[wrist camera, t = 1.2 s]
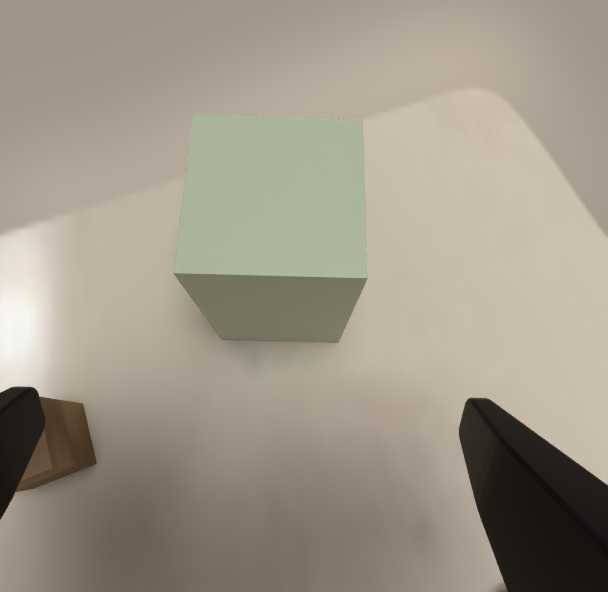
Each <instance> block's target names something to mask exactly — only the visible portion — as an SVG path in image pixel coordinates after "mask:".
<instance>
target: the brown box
mask: <svg viewBox="0 0 608 592" xmlns="http://www.w3.org/2000/svg"><path fill="white" fill-rule="evenodd" d="M40 400H41V404H42V407H43V410H44V413H45V417H46V424H45V428H44V431H43V433H42V435H41V437H40V440H39V442H38V444H37V446H36V448H35V451H34V453H33V455H32V457H31V459H30V462H29V464H28V466H27V468H26V470H25V473H24V475H23V477H22V479H21V481H20V484H19V486H18V488H17V490H16V492H18V491H23V490H29V489H34V488H36V487H39V486H41V485H44V484H46V483H49V482H51V481H54V480H56V479H59V478H61V477H63V476H66V475H68V474H71V473H73V472H76V471H78V470H81V469H83V468H86V467H88V466H91V465H93V464H96V459H95V455H94V451H93V446H92V442H91V438H90V434H89V429H88V425H87V421H86V417H85V412H84V408H83V404H80V403H74V402H68V401H62V400H56V399H50V398H44V397H40Z"/></svg>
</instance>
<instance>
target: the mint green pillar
mask: <svg viewBox="0 0 608 592" xmlns="http://www.w3.org/2000/svg"><path fill="white" fill-rule="evenodd" d="M173 273H174V275H175V276H176V277H177V279H178V280H179V282H180V283H181V284H182V286H183V287H184V288H185V290H186V291H187V293H188V294H189V295H190V297H191V298H192V299H193V301H194V302H195V304H196V305H197V306H198V308H199V309H200V310H201V312H202V313H203V315H204V316H205V317H206V319H207V320H208V321H209V323H210V324H211V326H212V327H213V328H214V330H215V331H216V332H217V334H218V335H219V337H220V338H221V339H226V340H267V341H307V342H339V340H340V338H341V335H342V333H343V331H344V329H345V327H346V324H347V322H348V320H349V318H350V316H351V313H352V311H353V309H354V307H355V305H356V302H357V300H358V298H359V296H360V294H361V291H362V289H363V287H364V285H365V283H366V280H367V243H366V207H365V171H364V135H363V120H352V119H320V118H288V117H257V116H256V117H255V116H226V115H225V116H224V115H195V114H193V120H192V128H191V136H190V144H189V152H188V160H187V168H186V176H185V184H184V192H183V200H182V208H181V216H180V224H179V232H178V240H177V248H176V256H175V264H174V272H173Z"/></svg>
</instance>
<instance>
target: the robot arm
mask: <svg viewBox="0 0 608 592" xmlns="http://www.w3.org/2000/svg"><path fill="white" fill-rule="evenodd" d="M45 424H46V417H45V413H44V410H43V407H42V404H41V400H40V397H39V394H38V391H37V390H36V389H35V388H33V387H11V388H9V389H7V390H5V391H3V392H1V393H0V519H1V518H2V516H3V514H4V512H5V511H6V509H7V507H8V505H9V503H10V502H11V500H12V498H13V496H14V494H15V492H16V490H17V488H18V486H19V484H20V481H21V479H22V477H23V475H24V473H25V470H26V468H27V466H28V464H29V462H30V459H31V457H32V455H33V453H34V451H35V448H36V446H37V444H38V442H39V440H40V437H41V435H42V433H43V431H44V428H45ZM459 438H460V442H461V446H462V450H463V454H464V458H465V462H466V466H467V470H468V474H469V478H470V482H471V486H472V490H473V494H474V498H475V502H476V505H477V509H478V512H479V515H480V517H481V520H482V523H483V526H484V528H485V531H486V534H487V537H488V539H489V542H490V545H491V547H492V550H493V553H494V556H495V558H496V561H497V564H498V566H499V569H500V572H501V575H502V577H503V580H504V583H505V585H506V588H507V591H508V592H608V485H607V484H605V483H604V482H603V481H601V480H600V479H598V478H597V477H596V476H594V475H593V474H592V473H590V472H589V471H587V470H586V469H585V468H583V467H582V466H581V465H579V464H578V463H576V462H575V461H574V460H572V459H571V458H570V457H568V456H567V455H565V454H564V453H563V452H561V451H560V450H559V449H557V448H556V447H554V446H553V445H552V444H550V443H549V442H548V441H546V440H545V439H543V438H542V437H541V436H539V435H538V434H537V433H535V432H534V431H532V430H531V429H530V428H528V427H527V426H526V425H524V424H523V423H521V422H520V421H519V420H517V419H516V418H515V417H513V416H512V415H510V414H509V413H508V412H506V411H505V410H504V409H502V408H501V407H499V406H498V405H497V404H495V403H494V402H493V401H491V400H489V399H487V398H469V399H467V401H466V403H465V406H464V410H463V414H462V418H461V422H460V426H459Z"/></svg>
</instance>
